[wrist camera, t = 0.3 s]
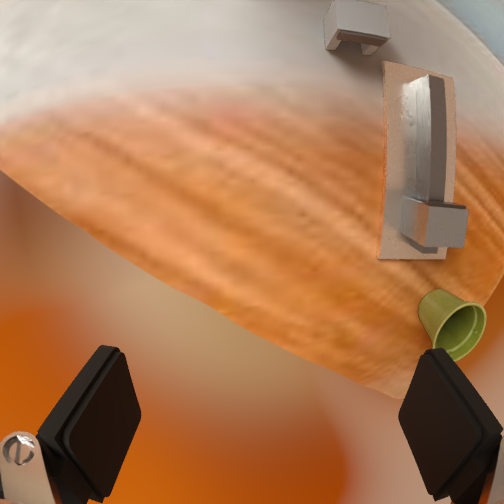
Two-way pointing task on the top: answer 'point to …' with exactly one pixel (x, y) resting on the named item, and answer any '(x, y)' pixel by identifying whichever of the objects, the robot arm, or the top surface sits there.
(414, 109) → the rail
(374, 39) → the grey block
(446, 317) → the plant pot
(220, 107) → the top surface
